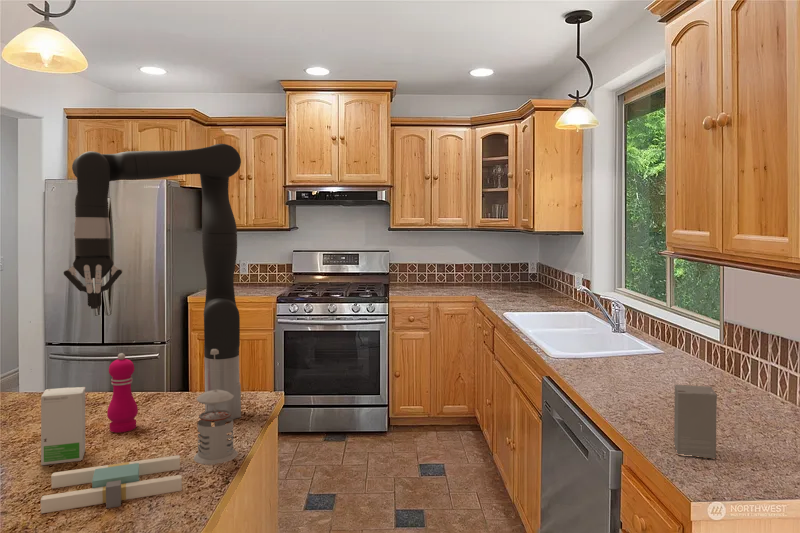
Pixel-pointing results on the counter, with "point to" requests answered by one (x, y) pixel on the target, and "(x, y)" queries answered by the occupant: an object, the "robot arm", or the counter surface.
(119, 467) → the block
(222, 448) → the french press
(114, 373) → the pepper mill
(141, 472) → the track
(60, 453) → the skincare box
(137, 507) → the counter surface
